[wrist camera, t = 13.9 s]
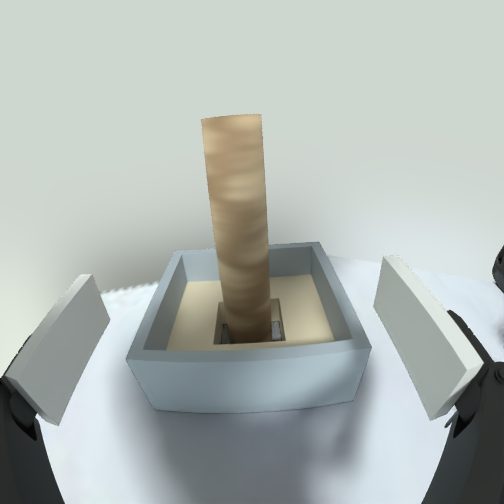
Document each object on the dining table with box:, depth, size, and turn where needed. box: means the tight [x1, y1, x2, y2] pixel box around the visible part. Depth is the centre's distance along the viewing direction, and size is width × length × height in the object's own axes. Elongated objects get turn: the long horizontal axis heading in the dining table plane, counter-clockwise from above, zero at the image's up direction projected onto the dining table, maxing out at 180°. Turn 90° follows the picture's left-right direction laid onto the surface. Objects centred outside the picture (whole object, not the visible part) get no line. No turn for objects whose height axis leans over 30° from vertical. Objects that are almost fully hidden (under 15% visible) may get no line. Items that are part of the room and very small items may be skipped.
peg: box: [201, 114, 272, 344], centre depth 21 cm, size 4×4×20 cm
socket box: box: [126, 242, 372, 413], centre depth 24 cm, size 16×16×6 cm
